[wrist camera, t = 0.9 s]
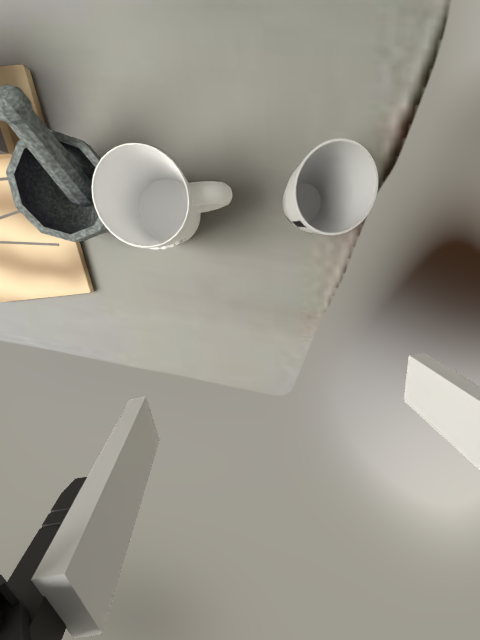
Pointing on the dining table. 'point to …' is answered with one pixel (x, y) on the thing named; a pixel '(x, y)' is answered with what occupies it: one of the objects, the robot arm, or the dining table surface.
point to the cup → (332, 188)
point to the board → (33, 233)
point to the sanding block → (5, 141)
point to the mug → (151, 197)
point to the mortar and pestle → (49, 173)
